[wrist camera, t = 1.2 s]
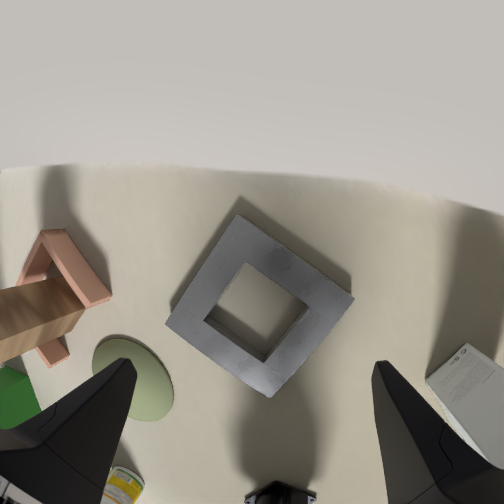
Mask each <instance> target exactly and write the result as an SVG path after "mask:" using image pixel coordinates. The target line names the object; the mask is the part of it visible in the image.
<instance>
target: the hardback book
mask: <svg viewBox="0 0 504 504" xmlns="http://www.w3.org/2000/svg"><path fill="white" fill-rule="evenodd" d="M40 412H42V411H41V409H40V406H39V404H38V401H37V398H36V396H35V393H34V390H33V387H32V385H31V382H30V379H29V376H27V375H25V374H22V373H20V372H18V371H16V370H13V369H11V368H9V367H7V366H5V367H3V368H1V369H0V429H10V428H13V427H15V426H17V425H19V424H21V423H23V422H24V421H26V420H28V419H30V418H32V417H33V416H35V415H37V414H39V413H40Z"/></svg>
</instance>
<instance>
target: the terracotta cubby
mask: <svg viewBox="0 0 504 504" xmlns="http://www.w3.org/2000/svg"><path fill="white" fill-rule="evenodd" d="M52 260H53V261H54V262H55V264H56V266H57V267H58V269H59V270H60V272H61V273H62V275H63V276H64V278H65V279H66V281H67V282H68V283H69V285H70V286H71V288H72V289H73V291H74V292H75V293H76V295H77V296H78V298H79V299H80V300H81V302H82V303H83V304H84V306H85V307H86V308H87V309H88V308H91V307H93V306H96V305H98V304H101V303H104V302H106V301H109V299H110V298H111V297H112V294H111V293H110V292H109V291H108V289H107V288H106V287H105V286H104V284H103V283H102V282H101V280H100V279H99V278H98V276H97V275H96V274H95V273H94V271H93V270H92V268H91V267H90V266H89V264H88V263H87V262H86V260H85V259H84V258H83V256H82V255H81V253H80V252H79V250H78V249H77V248H76V246H75V245H74V243H73V242H72V240H71V239H70V237H69V236H68V234H67V233H66V231H65V230H64V229H53V230H41V232H40V234H39V236H38V237H37V239H36V241H35V243H34V245H33V248H32V250H31V252H30V254H29V256H28V258H27V260H26V262H25V265H24V267H23V269H22V272H21V274H20V276H19V279H18V281H17V283H16V286H20V285H24V284H29V283H33V282H38V281H42V279H43V277H44V275H45V274H46V272H47V270H48V268H49V266H50V264H51V262H52ZM35 349H36V351H37V352H38V354H39V355H40V357H41V358H42V360H43V361H44V362H45V364H46V365H47V366H48V368H51V367H53V366H54V365H56V364H58V363H60V362H62V361H63V360H65V359H67V358H68V357H69V353H68V352H67V351H66V349H65V348H64V347H63V345H62V344H61V343H60V341H59V340H58V339H57V338H55V339H53V340H51V341H49V342H47V343H44V344H42V345H40V346H38V347H36V348H35Z"/></svg>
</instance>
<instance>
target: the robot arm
mask: <svg viewBox="0 0 504 504" xmlns="http://www.w3.org/2000/svg"><path fill="white" fill-rule="evenodd" d="M137 377H138V375H137V371H136V369H135V367H134V365H133V363H132V361H131V360H130V359H129V358H125V357H120V358H118V359H117V360H115V361H114V362H112V363H111V364H110V365H108V366H107V367H105V368H104V369H102V370H101V371H100V372H98V373H97V374H95V375H94V376H93V377H91V378H90V379H88V380H87V381H85V382H84V383H83V384H81V385H80V386H78V387H77V388H75V389H74V390H73V391H71V392H70V393H68V394H67V395H65V396H64V397H63V398H61V399H60V400H58V401H57V402H55V403H54V404H52V405H51V406H49V407H48V408H46V409H45V410H43V411H42V412H40V413H39V414H37V415H35V416H33V417H32V418H30V419H28V420H26V421H24V422H23V423H21V424H19V425H17V426H15V427H13V428H10V429H0V504H100V503H101V500H102V496H103V493H104V489H105V485H106V482H107V478H108V475H109V472H110V468H111V465H112V462H113V458H114V455H115V452H116V449H117V446H118V443H119V440H120V437H121V434H122V431H123V428H124V425H125V422H126V419H127V416H128V413H129V410H130V406H131V402H132V398H133V394H134V390H135V385H136V381H137ZM371 382H372V393H373V404H374V416H375V423H376V429H377V434H378V439H379V444H380V450H381V456H382V462H383V468H384V475H385V481H386V489H387V496H388V504H504V469H500V468H498V467H496V466H494V465H492V464H491V463H489V462H488V461H487V460H486V459H485V458H483V457H482V456H481V455H480V454H479V453H478V452H476V451H475V450H474V449H473V448H472V447H470V446H469V445H468V444H467V443H466V442H465V441H464V440H463V439H462V438H460V437H459V436H458V434H457V433H456V432H455V431H454V430H453V429H452V428H451V427H450V426H449V425H448V424H447V423H445V421H444V420H443V419H442V418H441V416H440V415H439V414H438V413H437V412H436V411H435V410H434V409H433V408H432V407H431V406H430V405H429V404H428V402H427V401H426V400H425V399H424V398H423V397H422V396H421V395H420V394H419V393H418V392H417V391H416V390H415V389H414V388H413V386H412V385H411V384H410V383H409V382H408V381H407V380H406V379H405V378H404V377H403V376H402V375H401V374H400V373H399V372H398V371H397V370H396V369H395V368H394V366H393V365H392V364H391V363H390V362H389V361H387V360H383V361H377V362H376V363H375V366H374V370H373V374H372V379H371ZM315 501H316V496H313V495H311V494H308V493H305V492H303V491H300V490H298V489H295V488H293V487H290V486H288V485H286V484H283V483H281V482H279V481H273V482H272V483H270V484H269V485H267V486H266V487H264V488H263V489H261V490H259V491H258V492H256V493H255V494H253V495H251V496H250V497H248V498H246V499H245V501H244V503H245V504H311V503H313V502H315Z"/></svg>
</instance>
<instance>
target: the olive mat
mask: <svg viewBox="0 0 504 504" xmlns="http://www.w3.org/2000/svg"><path fill="white" fill-rule="evenodd" d="M120 357H125V358H129V359H130V360H131V361H132V363H133V365H134V367H135V369H136V371H137V375H138V377H137V381H136V385H135V390H134V394H133V398H132V402H131V406H130V410H129V413H128V417H130V418H132V419H135V420H139V421H145V422H151V421H156V420H159V419H161V418H163V417H164V416H165V415H166V414H167V413H168V412H169V410H170V409H171V407H172V404H173V400H174V392H173V386H172V383H171V380H170V378H169V376H168V374H167V372H166V370H165V369H164V367H163V366H162V364H161V363H160V362H159V361H158V360H157V358H156V357H155V356H154V355H153V354H151V353H150V352H149V351H148V350H146V349H145V348H144V347H142V346H140V345H139V344H137V343H135V342H132V341H129V340H126V339H111V340H108V341H106V342H104V343H102V344H101V345H100V346H99V347H98V348H97V349H96V351H95V352H94V355H93V360H92V371H93V376H94V375H95V374H97V373H98V372H100V371H101V370H102V369H104V368H105V367H107V366H108V365H110V364H111V363H112V362H114V361H115V360H117V359H118V358H120Z"/></svg>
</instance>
